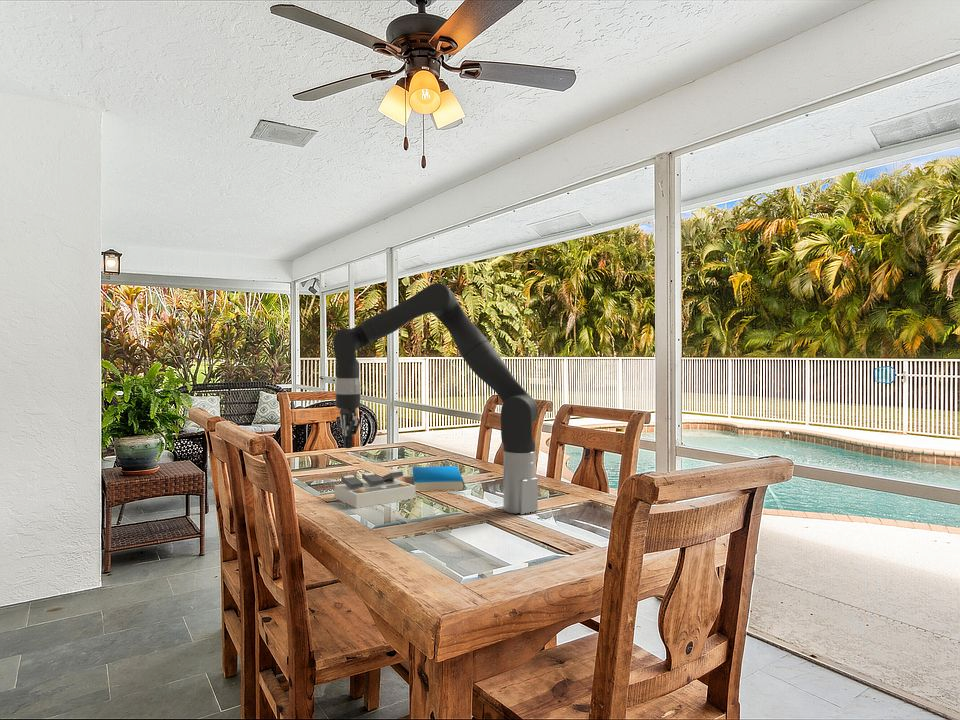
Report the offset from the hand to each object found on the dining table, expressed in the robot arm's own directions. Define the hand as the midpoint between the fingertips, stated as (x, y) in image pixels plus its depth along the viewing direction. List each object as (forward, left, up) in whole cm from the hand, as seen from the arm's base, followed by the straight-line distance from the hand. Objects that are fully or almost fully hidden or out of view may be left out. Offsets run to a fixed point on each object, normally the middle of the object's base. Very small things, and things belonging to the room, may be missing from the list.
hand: (348, 447), depth 186 cm
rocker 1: (-3, 0, -10) cm, 11 cm away
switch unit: (-5, -7, -16) cm, 18 cm away
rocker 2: (-3, -7, -10) cm, 13 cm away
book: (+3, -35, -17) cm, 39 cm away
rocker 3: (-3, -14, -10) cm, 18 cm away
